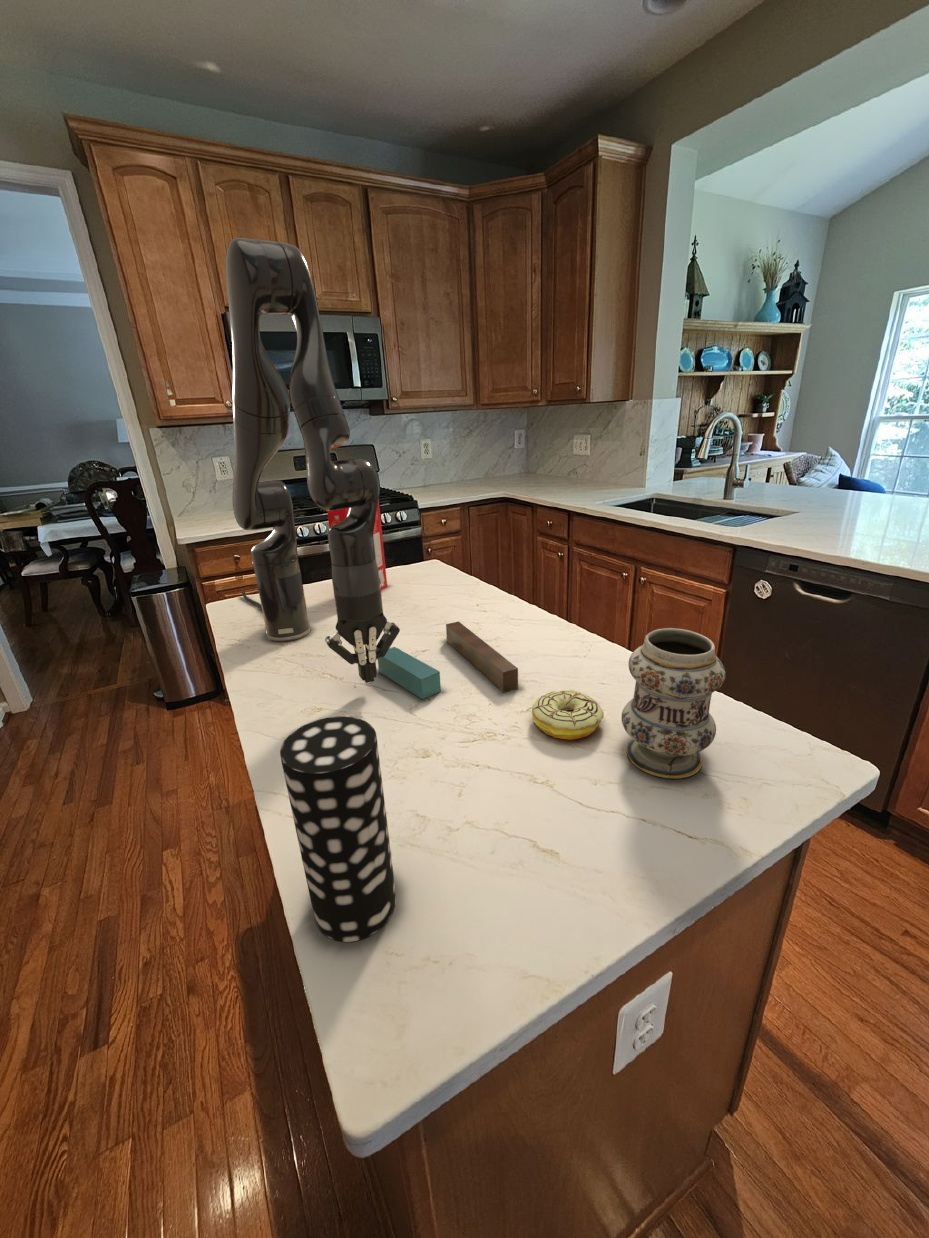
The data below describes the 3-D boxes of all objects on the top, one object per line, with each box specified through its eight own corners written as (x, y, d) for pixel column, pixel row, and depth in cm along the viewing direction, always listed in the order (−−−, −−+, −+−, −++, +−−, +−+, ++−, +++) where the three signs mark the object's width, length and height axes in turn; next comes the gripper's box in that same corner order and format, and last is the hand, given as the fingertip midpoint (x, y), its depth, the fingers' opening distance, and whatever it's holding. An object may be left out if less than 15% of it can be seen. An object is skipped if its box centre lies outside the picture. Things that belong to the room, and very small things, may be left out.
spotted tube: (321, 874, 58) (291, 719, 50) (397, 866, 59) (379, 713, 51) (307, 946, 50) (269, 777, 43) (394, 937, 51) (373, 768, 43)
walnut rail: (446, 641, 112) (445, 624, 111) (459, 638, 113) (458, 621, 112) (503, 692, 92) (503, 672, 90) (518, 688, 93) (518, 668, 92)
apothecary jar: (728, 761, 73) (750, 643, 66) (673, 798, 67) (692, 672, 60) (654, 721, 82) (667, 614, 75) (600, 751, 76) (609, 637, 69)
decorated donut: (614, 720, 83) (616, 700, 82) (577, 753, 76) (579, 731, 74) (557, 698, 90) (558, 678, 88) (519, 726, 82) (519, 705, 81)
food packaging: (371, 584, 148) (360, 494, 139) (387, 586, 146) (378, 494, 137) (339, 602, 136) (326, 504, 126) (357, 605, 134) (344, 505, 124)
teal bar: (378, 671, 101) (376, 653, 99) (396, 664, 103) (394, 646, 102) (422, 699, 91) (421, 679, 89) (441, 691, 93) (439, 671, 92)
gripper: (388, 574, 92) (397, 663, 99) (311, 587, 87) (326, 680, 94) (403, 586, 86) (411, 680, 93) (321, 601, 81) (336, 700, 87)
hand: (368, 680), depth 93 cm, fingers closed
